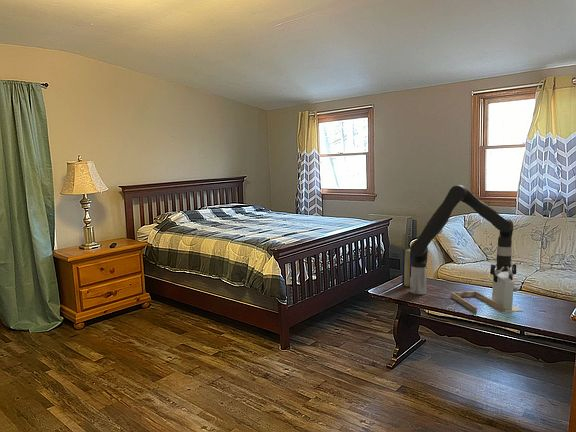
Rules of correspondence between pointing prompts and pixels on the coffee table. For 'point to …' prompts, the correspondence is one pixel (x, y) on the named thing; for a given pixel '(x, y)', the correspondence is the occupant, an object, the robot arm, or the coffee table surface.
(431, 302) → the coffee table surface
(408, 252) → the book
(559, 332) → the coffee table surface
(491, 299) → the beige flat board
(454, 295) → the wooden u-shaped frame
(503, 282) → the skincare box
